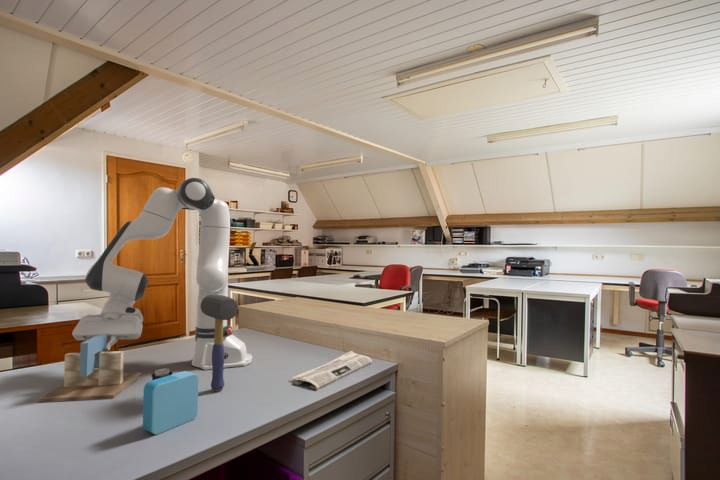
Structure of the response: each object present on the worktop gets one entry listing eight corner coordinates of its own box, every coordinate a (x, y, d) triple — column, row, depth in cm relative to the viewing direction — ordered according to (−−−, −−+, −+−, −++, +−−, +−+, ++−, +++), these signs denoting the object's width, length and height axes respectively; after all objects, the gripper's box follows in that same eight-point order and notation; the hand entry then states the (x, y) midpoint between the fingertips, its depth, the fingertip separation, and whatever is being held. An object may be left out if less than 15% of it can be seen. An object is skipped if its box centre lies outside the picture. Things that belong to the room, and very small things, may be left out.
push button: (176, 407, 105) (177, 371, 105) (155, 412, 101) (156, 375, 101) (168, 400, 110) (168, 366, 110) (148, 405, 106) (148, 370, 106)
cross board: (140, 375, 130) (141, 343, 130) (113, 398, 110) (114, 361, 111) (76, 378, 127) (77, 345, 127) (37, 402, 107) (38, 364, 107)
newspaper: (316, 392, 118) (317, 380, 118) (288, 383, 125) (288, 373, 125) (374, 363, 148) (374, 354, 148) (348, 358, 154) (348, 349, 155)
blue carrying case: (188, 413, 101) (188, 369, 101) (198, 418, 98) (198, 372, 99) (142, 431, 91) (143, 382, 91) (152, 437, 88) (153, 386, 89)
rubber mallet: (238, 392, 116) (240, 295, 117) (216, 399, 111) (217, 298, 111) (218, 382, 124) (220, 292, 125) (196, 388, 119) (198, 294, 119)
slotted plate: (99, 364, 124) (100, 334, 124) (106, 364, 125) (107, 334, 125) (79, 376, 112) (80, 343, 113) (86, 376, 113) (87, 343, 113)
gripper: (79, 309, 128) (60, 345, 118) (143, 309, 132) (131, 343, 122) (86, 320, 133) (68, 355, 123) (148, 319, 136) (136, 353, 126)
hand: (100, 349), depth 122 cm, fingers closed on slotted plate, 2 cm apart
